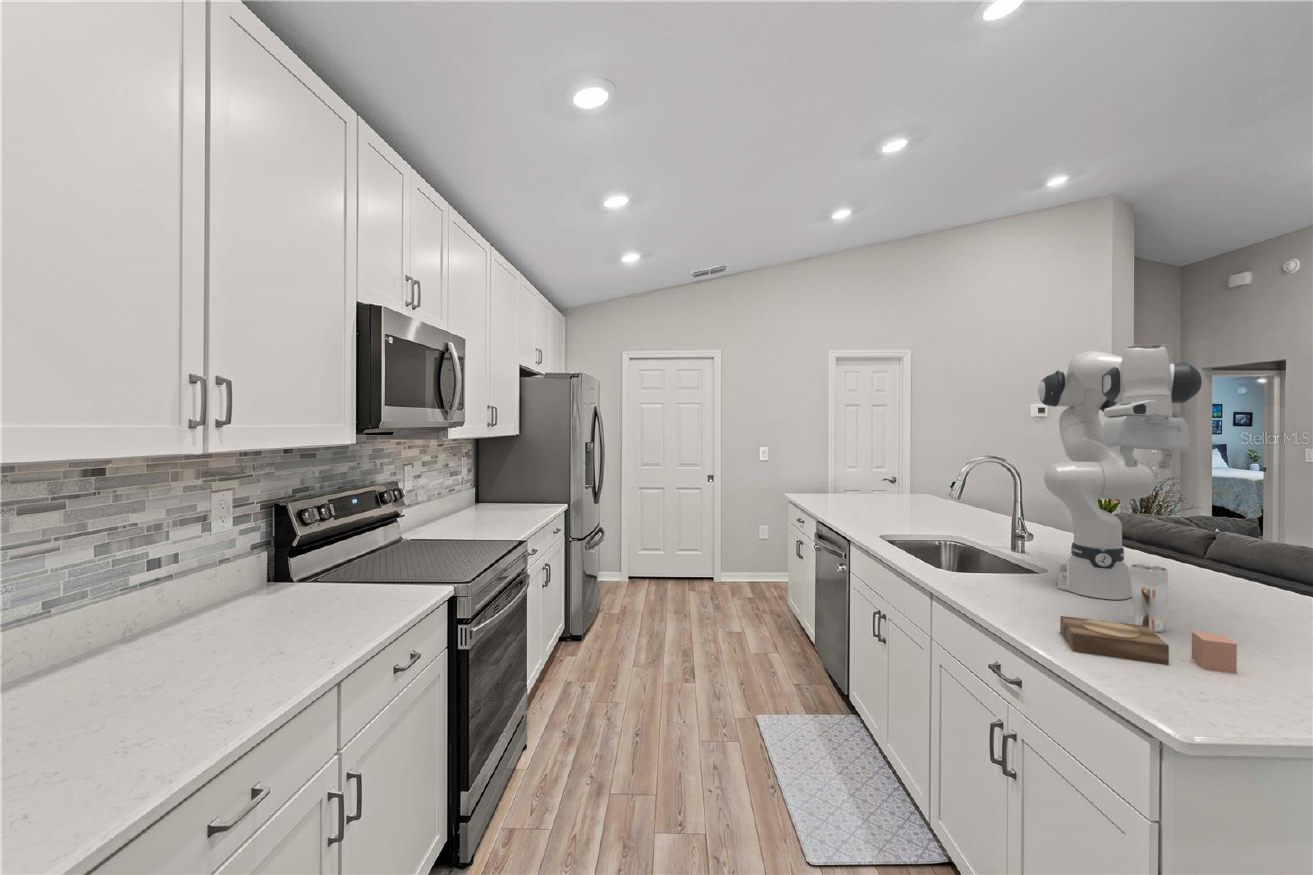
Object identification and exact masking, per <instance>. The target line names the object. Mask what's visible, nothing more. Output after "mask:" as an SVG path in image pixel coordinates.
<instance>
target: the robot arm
mask: <svg viewBox="0 0 1313 875" xmlns="http://www.w3.org/2000/svg"><path fill="white" fill-rule="evenodd" d="M1201 387H1202V375H1201V373H1200V371H1199V370H1198V369H1197V368H1196V367H1195V366H1193V365H1191V364H1189V363H1188V362H1174V363H1170V357H1169V354H1168V350H1167V348H1166V346H1164V345H1161V344H1150V345H1149V344H1147V345H1146V344H1145V345H1131V346H1128V347H1127V348H1124V349H1123V352H1122V356H1119V355H1116V354H1112V353H1109V352H1105V351H1100V350H1087V351H1083V352H1080V353H1078V354H1077V355H1075V356H1074V357H1073V358H1072V359H1070V361H1069V363H1068V369H1067V371H1060V370H1059V369H1058V370H1056V371H1055V372H1054V373H1052V374H1049V375H1047V376H1045V377H1044V378H1043V379H1042V380H1041V381H1040V384H1039V386H1038V389H1037V391H1038V397H1039V400H1040V402H1041V403H1042V404H1043V405H1044V406H1047V407H1054V408H1056V407H1063V408H1064V407H1065V408H1066V409H1064V410H1063V411H1061V414H1060V415H1059V420H1058V423H1059V434H1060V439H1061V441H1062V444H1063V448H1064V452H1065V454H1066V456H1067V457H1068V459H1069V460H1071V461H1062V462H1057V463H1053V464H1050V466H1049V467H1047V469H1046V471H1045V473H1044V477H1043V478H1044V479H1043V480H1044V485H1045V487H1046V489H1047V490H1048V491H1049V493H1051V494H1052V495H1054V496H1056V498H1058V499H1059V500H1060V501H1061V502H1062V503H1064V504H1065V506H1066V507H1067V509H1068V511H1069V513H1070V516H1071V519H1072V526H1073V542H1072V543H1071V548H1070V550H1071V552H1070V553H1071V556H1070V557H1069V559H1067V561H1066V563H1063V564H1062V563H1061V564H1060V566H1059V568H1060V570H1059V571H1060V572H1062V573H1063V574H1059V575H1057V588H1058V590H1062V591H1067V592H1071V593H1073V594H1078V595H1081V596H1086V597H1089V598H1090V597H1091V598H1096V599H1104V600H1115V601H1117V600H1127V599H1130V598H1132V595H1131V590H1130V573H1131V568H1130V567H1129V566H1128V565H1127V564H1125V561H1124V560H1125V551H1124V550H1125V548H1124V547H1123V523H1122V521H1121V519H1119V517H1117V516H1116V515H1115V514H1113V513H1111V512H1108V511H1106V510H1104V509H1101V508H1100V507H1099V506H1098V503H1097V500H1101V499H1102V500H1120V501H1121V500H1122V501H1123V500H1127V501H1128V500H1136V499H1144V498H1147V497H1148V496H1150V495H1151V494H1152V492H1153V491H1154V489H1155V488H1156V484H1157V482H1156V481H1157V480H1156V477H1155V476H1156V475H1155V474H1154V472H1153V471H1152V470H1151V468H1149V466H1147V465H1145V464H1143V463H1142V464H1141V463H1139V462H1138V459H1135V456H1134V455H1133V453H1134V451H1135V450H1151V451H1152V450H1155V451H1156V450H1157V451H1161V452H1160V453H1161V455H1162V458H1161V460H1160V461H1157V462H1158V464H1157V465H1158V469H1160V470H1171V469H1172V468H1173V466H1172V465H1173V463H1172V462H1173V461H1174V459H1175V457H1176V455H1177V453H1176V452H1177V451H1178V452H1179V451H1188V449H1189V448H1190V447H1191V437H1190V432H1189V426H1188V424H1187V422H1186V421H1185V420H1186V419H1185V418H1184V417H1183V416H1182V415H1181V414H1180V413H1179V412H1173V406H1172V405H1173V403H1175V404H1184V403H1186V402H1187V401H1189V400H1191V399H1192V398H1194V397H1195V396H1196V395H1197V394H1198V393H1199V392H1200V390H1201ZM1118 403H1120V404H1118ZM1100 410H1101V411H1102V412H1103V416H1104V417H1105V418H1106V419H1105V420H1104V423H1103V424H1102V422H1101V420H1100V416H1099V412H1100ZM1115 448H1117V449H1118V448H1119V451H1118V450H1116V449H1115ZM1134 449H1135V450H1134Z"/></svg>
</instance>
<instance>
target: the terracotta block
mask: <svg viewBox="0 0 1313 875" xmlns="http://www.w3.org/2000/svg"><path fill="white" fill-rule="evenodd" d="M1237 648H1238V644H1237V643H1236V642H1234V641H1233V640H1232V639H1230V638H1228V637H1227V636H1226V635H1223V634H1216V633H1209V632H1208V633H1207V632H1200V631H1191V660H1192V659H1193V660H1194V661H1195V662H1194V661H1193V660H1192V661H1193V662H1194V663H1195V664H1197V665H1198V666H1199V667H1200V668H1201V669H1203V670H1209V671H1216V672H1223V673H1230V674H1231V673H1232V674H1238V672H1237V671H1238V669H1237V668H1238V666H1237V665H1238V664H1237V663H1238V661H1237V660H1238V657H1237V656H1238V655H1237V654H1238V653H1237V652H1238V649H1237Z"/></svg>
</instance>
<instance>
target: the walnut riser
mask: <svg viewBox="0 0 1313 875" xmlns="http://www.w3.org/2000/svg"><path fill="white" fill-rule="evenodd" d="M1059 622H1060V623H1059V624H1060V625H1059V626H1060V628H1059V630H1060V633H1061V636H1062V637H1063V636H1064V637H1063V638H1064V640H1065V641H1066V642H1067V644H1068V646H1069V647H1070V648H1071V650H1072V651H1073V652H1077V653H1083V654H1090V655H1098V656H1103V655H1104V656H1105V657H1110V658H1111V657H1112V658H1119V659H1126V660H1132V659H1133V661H1139V660H1140V662H1146V663H1147V662H1149V663H1154V664H1163V665H1170V660H1169V659H1170V645H1169V644H1168V643H1167V642H1165V641H1164V640H1163V639H1162V638H1161V637H1160V636H1159V635H1157V634H1156V632H1153V631H1152V630H1150V629H1149V628H1148V627H1147V626H1142V625H1134V624H1132V623H1131V624H1130V623H1125V622H1115V621H1109V620H1101V619H1090V618H1081V617H1075V616H1074V617H1073V616H1064V615H1060V621H1059Z"/></svg>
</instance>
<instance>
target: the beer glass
mask: <svg viewBox="0 0 1313 875" xmlns="http://www.w3.org/2000/svg"><path fill="white" fill-rule="evenodd" d="M1130 566H1131V568H1130V572H1131V573H1130V590H1131V595H1132V597H1131V598H1132V605H1133V618H1132V622H1131V624H1134V625H1142V626H1147V627H1148V628H1149V629H1150V630H1152V631H1153V632H1154V633H1157V632H1158V633H1161V632H1162V633H1165V632H1166V625H1165V622H1164V615H1165V614H1164V612H1165V608H1166V604H1167V601H1168V595H1169V576H1168V575H1169V574H1168V568H1165V567H1162V566H1159V565H1154V564H1153V565H1152V564H1145V563H1144V564H1143V563H1133V564H1131V565H1130Z"/></svg>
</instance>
